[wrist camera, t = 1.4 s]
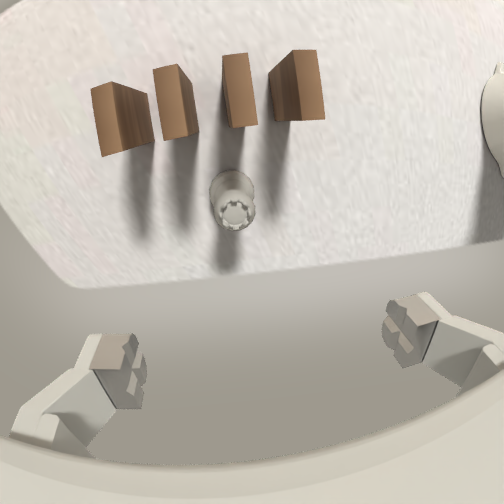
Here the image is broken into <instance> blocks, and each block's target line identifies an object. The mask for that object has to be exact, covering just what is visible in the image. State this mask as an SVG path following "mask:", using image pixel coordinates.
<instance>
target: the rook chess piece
mask: <svg viewBox="0 0 504 504" xmlns="http://www.w3.org/2000/svg"><path fill="white" fill-rule="evenodd" d="M209 191H210V200H211V202H212V204H213V206H214V217H215V219H216V221H217V223H218V224H219V225H220V226H221V227H223V228H224V229H227V230H230V231H239V230H242V229H244V228H246V227H248V226H249V225H250V224H251V222H252V221H253V219H254V216H255V205H254V203H253V199H254V186H253V184H252V182H251V180H250V178H249V177H247V176H246V175H245V174H244V173H242V172H239V171H236V170H231V171H225V172H223V173H220V174H218V175H217V176H216V178H215V179H214V180H213V181H212V183H211V186H210V189H209Z"/></svg>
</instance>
